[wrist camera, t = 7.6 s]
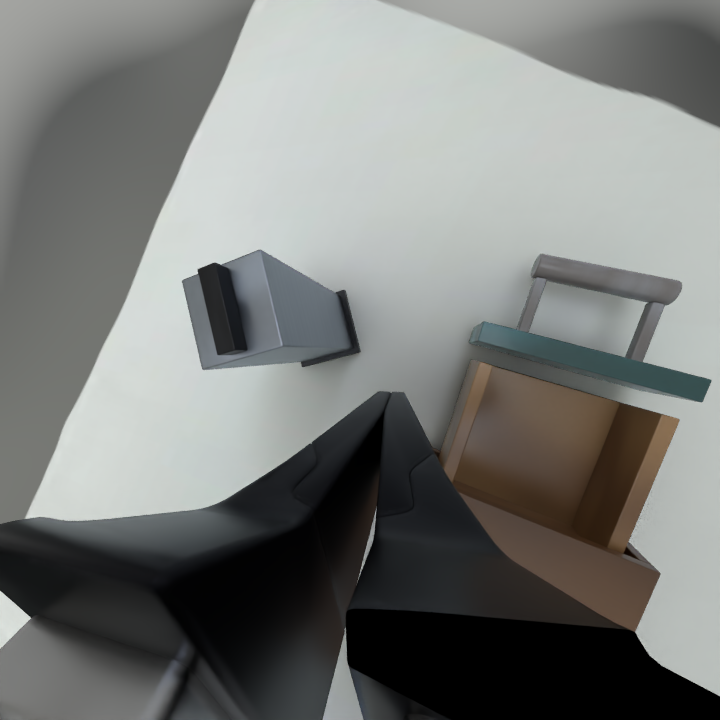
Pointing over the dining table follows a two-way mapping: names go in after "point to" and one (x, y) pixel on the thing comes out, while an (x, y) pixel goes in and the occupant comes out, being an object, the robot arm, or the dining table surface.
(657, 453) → the drawer
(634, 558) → the cabinet
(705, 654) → the dining table surface
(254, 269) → the grey box with handle
